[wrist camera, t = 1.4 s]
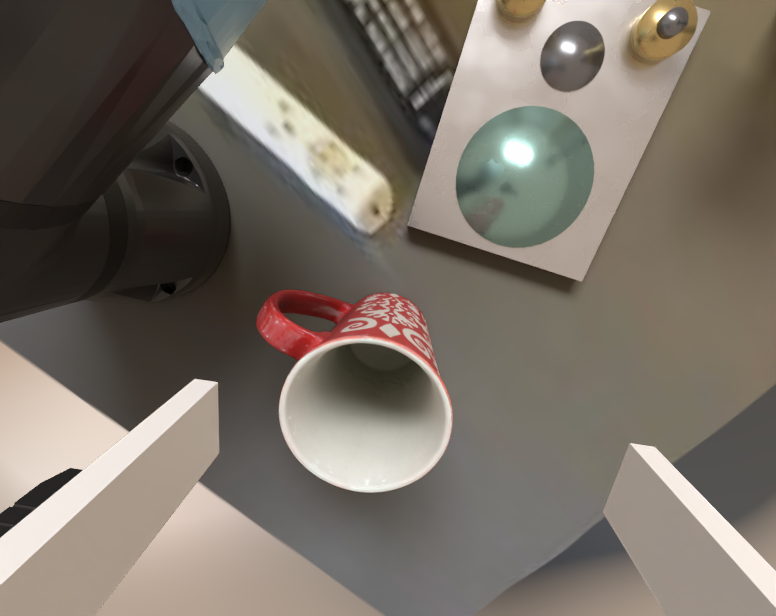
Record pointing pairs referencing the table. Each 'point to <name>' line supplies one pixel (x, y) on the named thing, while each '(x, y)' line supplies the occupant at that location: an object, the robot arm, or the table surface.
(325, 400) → the mug
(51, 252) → the robot arm
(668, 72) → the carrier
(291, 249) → the table surface
